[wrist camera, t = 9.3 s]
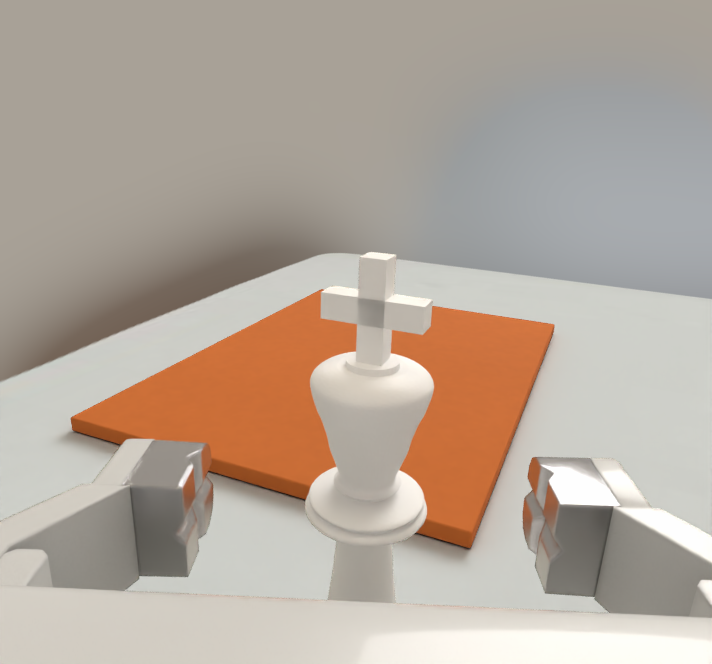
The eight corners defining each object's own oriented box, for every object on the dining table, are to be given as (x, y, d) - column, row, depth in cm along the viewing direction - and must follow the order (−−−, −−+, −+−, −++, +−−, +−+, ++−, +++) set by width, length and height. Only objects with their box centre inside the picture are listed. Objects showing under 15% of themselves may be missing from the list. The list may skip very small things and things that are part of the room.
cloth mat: (321, 297, 43) (321, 288, 43) (553, 333, 37) (554, 324, 37) (71, 430, 24) (69, 417, 24) (470, 549, 18) (472, 532, 18)
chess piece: (441, 931, 9) (522, 328, 6) (181, 798, 11) (133, 268, 8) (495, 678, 14) (560, 245, 10) (303, 611, 15) (305, 219, 12)
